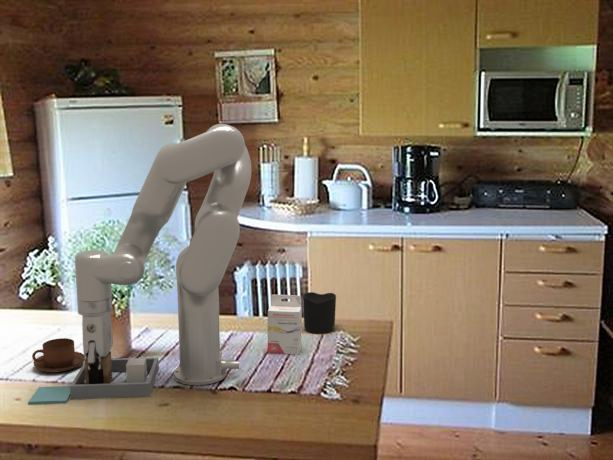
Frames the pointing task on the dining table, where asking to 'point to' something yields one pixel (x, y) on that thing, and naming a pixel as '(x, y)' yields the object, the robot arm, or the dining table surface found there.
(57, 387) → the pad
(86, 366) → the walnut block
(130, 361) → the pale grey block
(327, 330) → the pen holder
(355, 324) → the dining table surface
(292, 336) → the ink cartridge box
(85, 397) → the grey square frame
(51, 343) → the cup and saucer
